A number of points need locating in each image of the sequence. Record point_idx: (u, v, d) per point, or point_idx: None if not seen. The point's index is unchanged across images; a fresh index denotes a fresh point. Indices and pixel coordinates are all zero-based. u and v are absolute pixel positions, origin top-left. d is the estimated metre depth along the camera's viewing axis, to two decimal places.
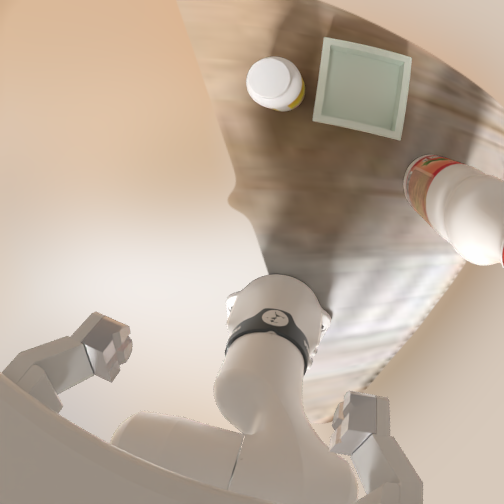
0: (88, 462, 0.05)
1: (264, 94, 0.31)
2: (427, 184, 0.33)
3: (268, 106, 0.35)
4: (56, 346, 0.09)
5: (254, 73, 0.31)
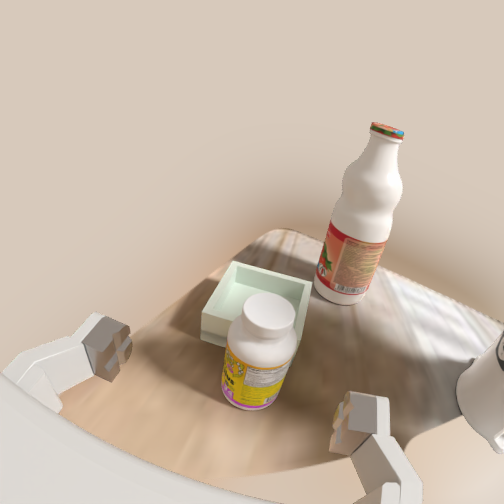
0: (88, 462, 0.05)
1: (291, 316, 0.27)
2: (353, 243, 0.44)
3: (295, 343, 0.29)
4: (56, 346, 0.09)
5: (261, 320, 0.26)
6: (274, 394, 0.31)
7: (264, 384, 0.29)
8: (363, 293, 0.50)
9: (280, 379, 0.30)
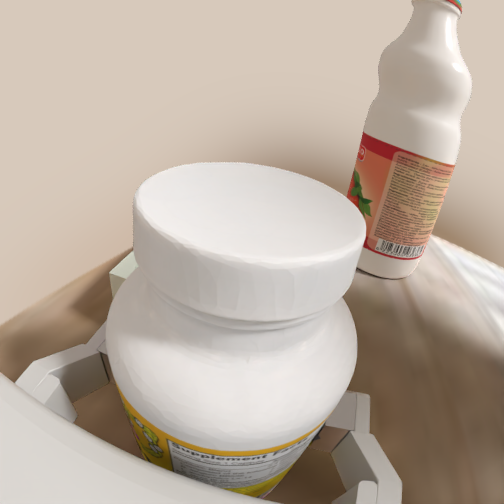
0: (88, 462, 0.05)
1: (351, 223, 0.06)
2: (408, 161, 0.23)
3: (356, 348, 0.07)
4: (71, 354, 0.09)
5: (209, 224, 0.05)
6: (275, 484, 0.10)
7: (243, 484, 0.07)
8: (418, 258, 0.28)
9: (295, 460, 0.08)
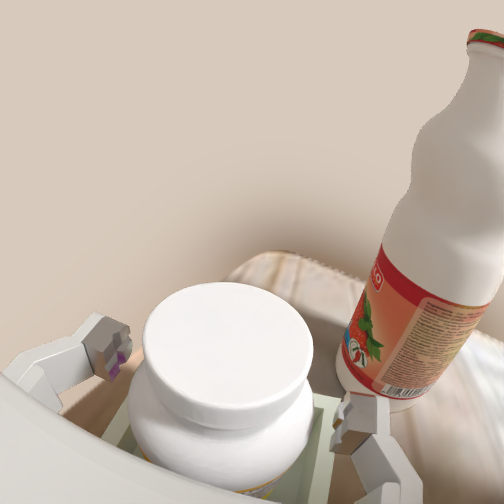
0: (88, 462, 0.05)
1: (300, 357, 0.08)
2: (440, 310, 0.16)
3: (311, 421, 0.09)
4: (56, 346, 0.09)
5: (196, 374, 0.07)
6: None
7: None
8: None
9: (271, 489, 0.10)
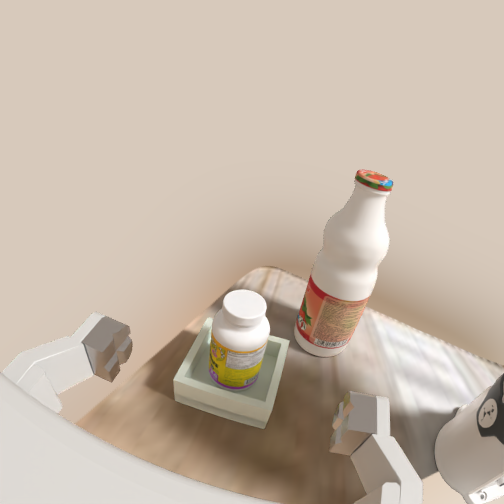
0: (88, 462, 0.05)
1: (262, 309, 0.33)
2: (333, 302, 0.42)
3: (268, 332, 0.35)
4: (56, 346, 0.09)
5: (238, 311, 0.33)
6: (253, 377, 0.37)
7: (243, 367, 0.35)
8: (345, 345, 0.47)
9: (257, 363, 0.36)
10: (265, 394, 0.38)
